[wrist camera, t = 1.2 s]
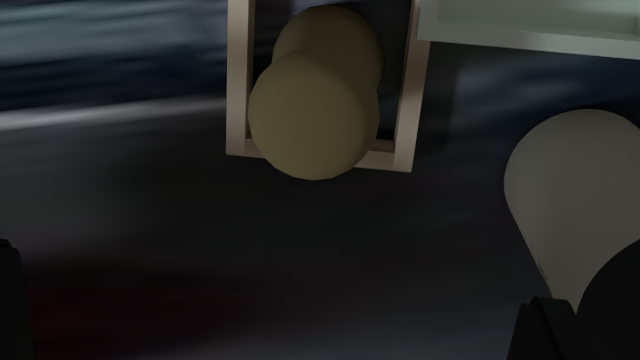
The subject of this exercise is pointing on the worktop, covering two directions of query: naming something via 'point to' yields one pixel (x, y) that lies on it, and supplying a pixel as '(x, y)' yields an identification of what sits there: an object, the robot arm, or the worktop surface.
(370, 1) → the worktop surface
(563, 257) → the travel mug
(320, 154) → the brown rounded lump
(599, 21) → the tray
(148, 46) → the worktop surface
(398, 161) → the socket
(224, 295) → the worktop surface
